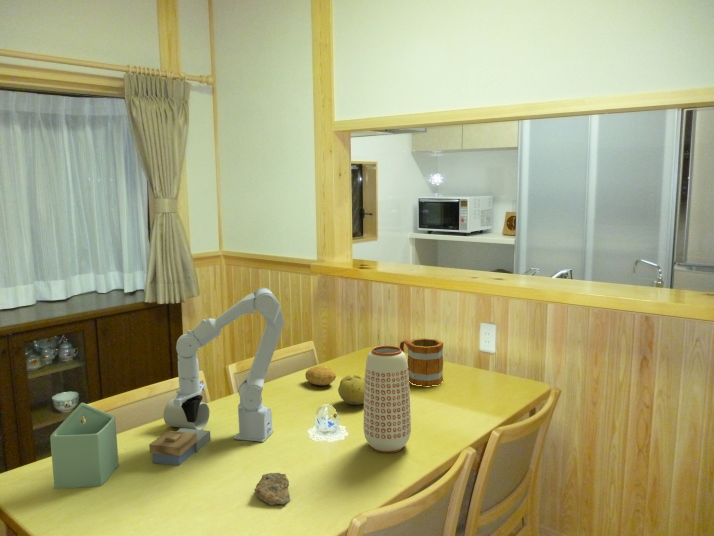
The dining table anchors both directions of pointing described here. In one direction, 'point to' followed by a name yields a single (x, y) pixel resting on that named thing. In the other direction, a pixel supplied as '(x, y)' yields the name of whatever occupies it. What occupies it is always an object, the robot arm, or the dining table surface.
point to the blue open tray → (172, 457)
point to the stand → (198, 437)
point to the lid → (173, 443)
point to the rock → (273, 488)
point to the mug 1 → (178, 419)
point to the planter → (84, 449)
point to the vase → (387, 399)
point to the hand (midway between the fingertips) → (191, 421)
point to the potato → (320, 375)
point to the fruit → (352, 389)
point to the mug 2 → (424, 361)
